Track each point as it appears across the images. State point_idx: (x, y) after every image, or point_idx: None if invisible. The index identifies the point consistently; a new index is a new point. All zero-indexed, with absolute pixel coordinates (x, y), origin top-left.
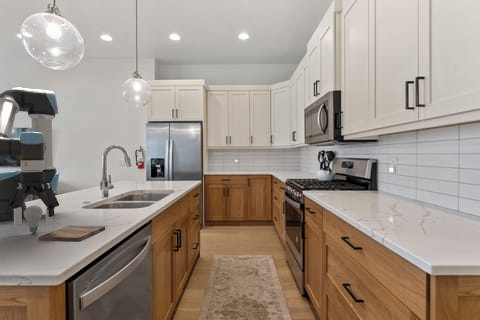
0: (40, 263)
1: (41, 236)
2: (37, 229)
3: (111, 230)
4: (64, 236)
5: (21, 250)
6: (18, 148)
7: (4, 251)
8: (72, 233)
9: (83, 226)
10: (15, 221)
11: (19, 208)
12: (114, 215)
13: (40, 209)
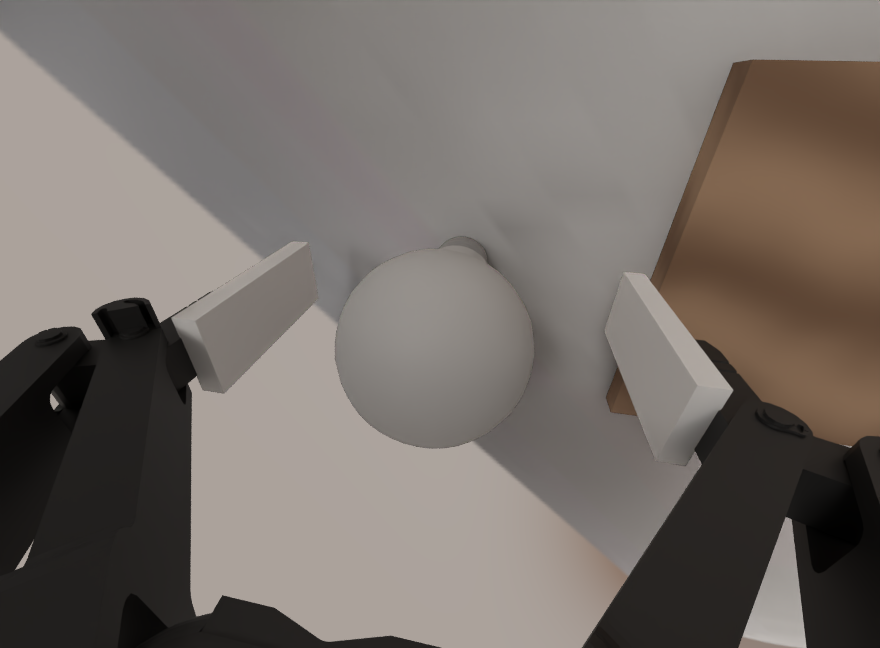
0: (773, 605)
1: (632, 411)
2: (487, 260)
3: None
4: (811, 425)
5: (617, 508)
6: None
7: (549, 507)
8: (866, 365)
9: None
10: (300, 312)
11: (212, 344)
12: None
13: (521, 375)
